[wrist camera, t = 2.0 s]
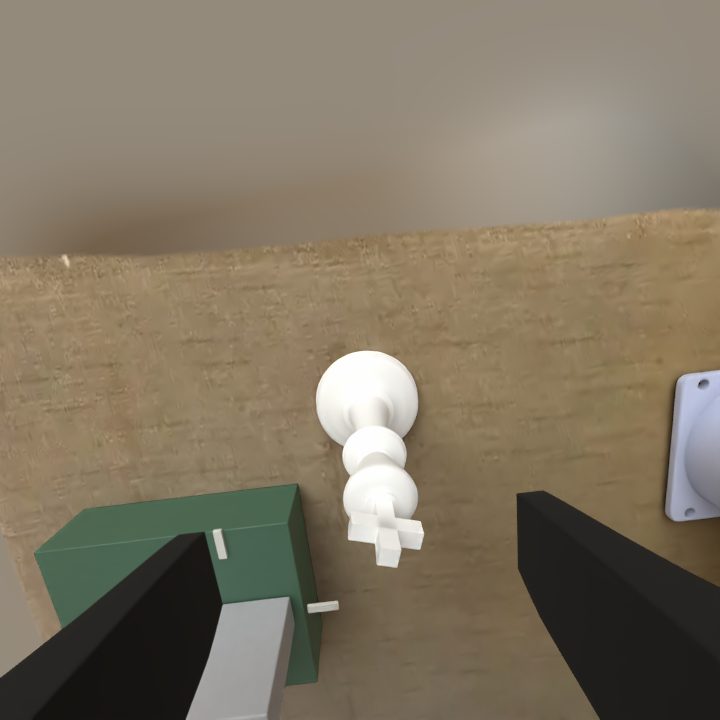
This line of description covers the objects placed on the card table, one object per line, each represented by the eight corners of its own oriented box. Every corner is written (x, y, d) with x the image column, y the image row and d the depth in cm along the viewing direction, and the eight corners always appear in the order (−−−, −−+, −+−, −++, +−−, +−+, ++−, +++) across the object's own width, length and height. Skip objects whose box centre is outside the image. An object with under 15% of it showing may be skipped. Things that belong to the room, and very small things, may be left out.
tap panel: (328, 477, 18) (324, 518, 15) (350, 622, 20) (350, 684, 17) (83, 507, 18) (28, 553, 15) (130, 648, 20) (90, 715, 17)
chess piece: (405, 454, 18) (471, 662, 8) (308, 438, 18) (257, 636, 8) (427, 360, 17) (533, 471, 7) (325, 342, 17) (289, 432, 7)
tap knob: (289, 595, 16) (265, 724, 11) (295, 624, 16) (273, 760, 12) (179, 608, 16) (110, 742, 11) (187, 636, 16) (123, 777, 12)
